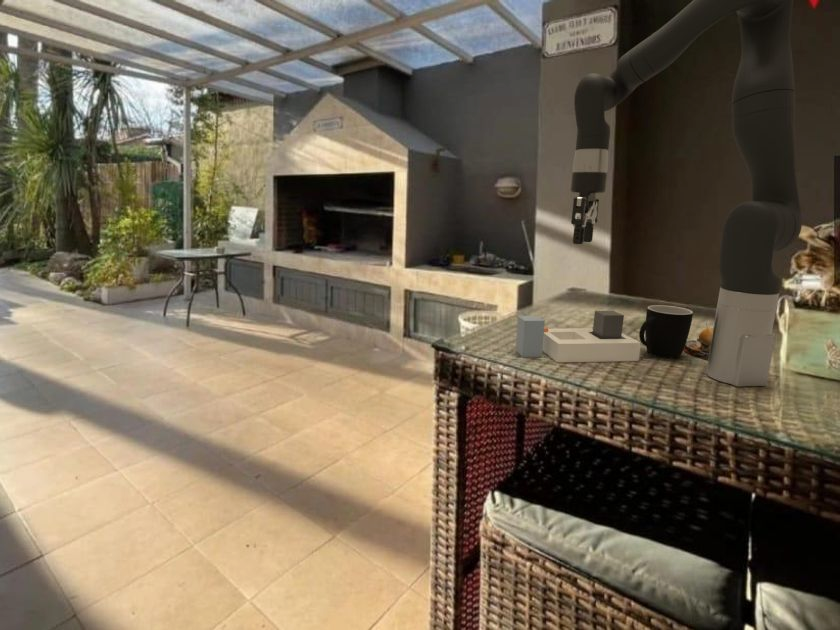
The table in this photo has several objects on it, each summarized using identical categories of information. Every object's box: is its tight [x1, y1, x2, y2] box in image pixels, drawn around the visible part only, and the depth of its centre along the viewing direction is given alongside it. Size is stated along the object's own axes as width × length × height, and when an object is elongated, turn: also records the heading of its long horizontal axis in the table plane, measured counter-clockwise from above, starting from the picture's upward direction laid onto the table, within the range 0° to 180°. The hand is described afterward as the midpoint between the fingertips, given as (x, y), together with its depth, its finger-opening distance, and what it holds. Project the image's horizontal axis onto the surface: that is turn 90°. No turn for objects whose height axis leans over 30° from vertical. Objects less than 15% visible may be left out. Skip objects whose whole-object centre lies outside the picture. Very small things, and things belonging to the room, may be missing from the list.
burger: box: [683, 323, 713, 361], centre depth 110 cm, size 12×12×8 cm
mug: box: [638, 304, 694, 359], centre depth 108 cm, size 12×9×10 cm
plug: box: [515, 315, 546, 358], centre depth 106 cm, size 4×4×8 cm
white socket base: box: [542, 310, 642, 363], centre depth 108 cm, size 12×18×9 cm, turn 97°
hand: (582, 243), depth 116 cm, fingers open, 8 cm apart
